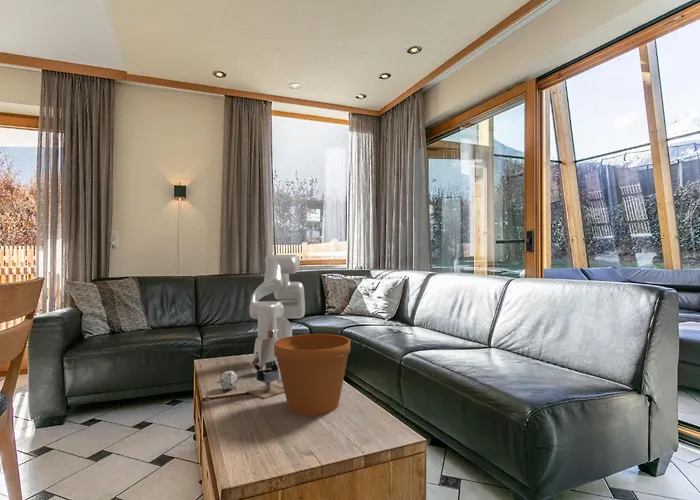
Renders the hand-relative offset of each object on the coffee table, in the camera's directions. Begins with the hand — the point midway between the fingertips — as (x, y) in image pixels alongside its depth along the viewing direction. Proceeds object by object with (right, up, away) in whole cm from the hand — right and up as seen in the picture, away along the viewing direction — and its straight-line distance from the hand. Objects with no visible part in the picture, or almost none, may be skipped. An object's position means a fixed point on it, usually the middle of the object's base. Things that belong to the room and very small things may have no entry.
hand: (267, 377), depth 160 cm
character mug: (-4, -7, +28) cm, 29 cm away
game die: (-17, -6, +3) cm, 19 cm away
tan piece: (0, -6, 0) cm, 6 cm away
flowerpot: (+20, -5, -16) cm, 26 cm away
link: (0, -1, 0) cm, 1 cm away
